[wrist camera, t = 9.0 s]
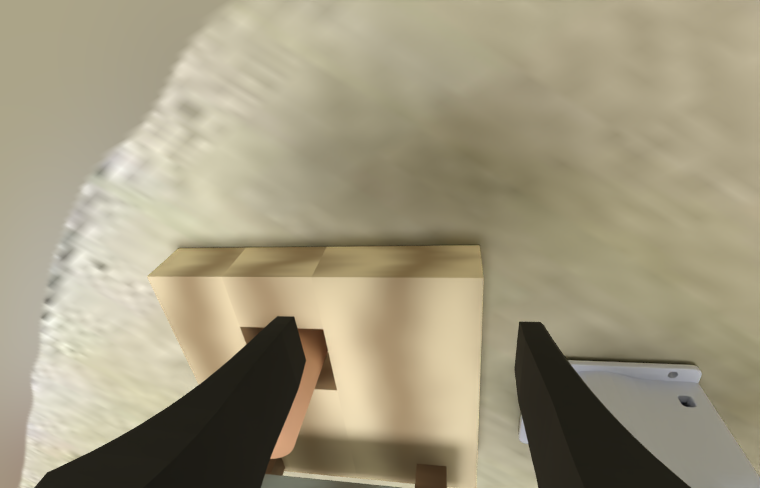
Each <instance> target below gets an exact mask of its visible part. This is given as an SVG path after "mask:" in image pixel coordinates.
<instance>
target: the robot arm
mask: <svg viewBox="0 0 760 488" xmlns="http://www.w3.org/2000/svg"><path fill="white" fill-rule="evenodd" d="M305 363H306V358H305V354H304V351H303V347H302V343H301V339H300V336H299V332H298V328H297V325H296V321H295V317H294V316H277V317H276V318H275V319H273V320H272V321H271V322H270V323H269V324H268V325H267V326H266V327H265V328H264V329H263V330H261V331H260V332H259V333H258V334H257V335H256V336H255V337H254V338H253V339H252V340H251V341H250V342H249V343H247V344H246V345H245V346H244V347H243V348H242V349H241V350H240V351H239V352H238V353H236V354H235V355H234V356H233V357H232V358H231V359H230V360H229V361H227V362H226V363H225V364H224V365H223V366H221V367H220V368H219V369H218V370H217V371H215V372H214V373H213V374H212V375H211V376H209V377H208V378H207V379H206V380H205V381H203V382H202V383H201V384H199V385H198V386H197V387H195V388H194V389H193V390H191V391H190V392H189V393H187V394H186V395H185V396H183V397H182V398H180V399H179V400H178V401H176V402H175V403H173V404H172V405H170V406H169V407H167V408H166V409H164V410H163V411H161V412H159V413H158V414H156V415H155V416H153V417H152V418H150V419H148V420H147V421H145V422H144V423H142V424H140V425H139V426H137V427H136V428H134V429H132V430H130V431H129V432H127V433H125V434H123V435H122V436H120V437H118V438H116V439H114V440H112V441H111V442H109V443H107V444H105V445H103V446H101V447H99V448H97V449H95V450H94V451H92V452H90V453H88V454H85V455H83V456H81V457H79V458H77V459H75V460H73V461H71V462H69V463H67V464H65V465H63V466H60V467H58V468H56V469H54V470H52V471H50V472H47V474H46V475H45V476H44V477H43V478H42V479H41V480H40V482H39V483H38V484H37V485H36V486H35V487H34V488H261V486H262V482H263V479H264V476H265V473H266V469H267V466H268V463H269V461H270V458H271V455H272V453H273V450H274V448H275V445H276V443H277V440H278V438H279V436H280V433H281V431H282V428H283V426H284V424H285V421H286V419H287V416H288V414H289V412H290V409H291V407H292V404H293V402H294V399H295V397H296V394H297V392H298V389H299V386H300V382H301V379H302V375H303V371H304V367H305ZM670 372H671V373H670ZM701 376H702V372H701V371H700V369H699V368H698V367H697V366H695V365H681V364H655V363H629V362H603V361H578V360H567V359H566V358H565V356H564V355H563V353H562V352H561V351H560V349H559V348H558V346H557V345H556V343H555V342H554V340H553V339H552V337H551V336H550V334H549V333H548V331H547V330H546V328H545V326H544V325H543V324H542V323H541V322H519V329H518V339H517V350H516V360H515V377H516V386H517V394H518V402H519V406H520V410H521V416H520V424H519V433H518V435H519V440H520V441H521V442H522V443H526V444H529V448H530V452H531V457H532V461H533V465H534V469H535V473H536V478H537V483H538V488H760V477H759V475H758V473H757V472H756V470H755V469H754V467H753V466H752V464H751V463H750V461H749V460H748V458H747V457H746V455H745V454H744V452H743V450H742V449H741V447H740V446H739V444H738V443H737V441H736V440H735V438H734V437H733V435H732V434H731V432H730V431H729V429H728V427H727V426H726V424H725V423H724V421H723V420H722V418H721V417H720V415H719V414H718V412H717V411H716V409H715V408H714V406H713V405H712V403H711V401H710V400H709V398H708V397H707V395H706V394H705V392H704V391H703V389H702V388H701V386H700V385H699V381H700V378H701Z"/></svg>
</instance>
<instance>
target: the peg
mask: <svg viewBox="0 0 760 488" xmlns="http://www.w3.org/2000/svg"><path fill="white" fill-rule="evenodd" d="M298 332H299V336H300V339H301V343H302V347H303V351H304V354H305V358H306V363H305V367H304V371H303V375H302V379H301V382H300V386H299V389H298V392H297V394H296V397H295V399H294V402H293V404H292V407H291V409H290V412H289V414H288V416H287V419H286V421H285V424H284V426H283V428H282V431H281V433H280V436H279V438H278V440H277V443H276V445H275V448H274V450H273V453H272V455H271V458H270V459H276V458H281V457H284V456H286V455H288V454H289V453H290V452H291V451H292V450H293V448H294V446H295V443H296V440H297V437H298V434H299V431H300V429H301V426H302V423H303V420H304V417H305V414H306V412H307V409H308V406H309V403H310V400H311V397H312V395H313V392H314V389H315V386H316V383H317V380H318V378H319V375H320V372H321V369H322V366H323V363H324V361H325V358H326V355H327V352H328V348H327V344H326V339H325V335H324V331H323V329H301V328H298Z"/></svg>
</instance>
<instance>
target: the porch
mask: <svg viewBox="0 0 760 488" xmlns="http://www.w3.org/2000/svg"><path fill="white" fill-rule="evenodd" d="M147 277H148V280H149V282H150V284H151V286H152V288H153V290H154V292H155V294H156V296H157V298H158V300H159V303H160V305H161V307H162V309H163V311H164V313H165V315H166V317H167V319H168V321H169V323H170V325H171V328H172V330H173V332H174V334H175V336H176V338H177V340H178V342H179V344H180V346H181V348H182V351H183V353H184V355H185V357H186V359H187V361H188V363H189V365H190V367H191V369H192V371H193V374H194V376H195V378H196V380H197V382H198V384H201V383H202V382H203V381H205V380H206V379H207V378H208V377H209V376H211V375H212V374H213V373H214V372H215V371H217V370H218V369H219V368H220V367H221V366H223V365H224V364H225V363H226V362H227V361H229V360H230V359H231V358H232V357H233V356H234V355H235V354H236V353H238V352H239V351H240V350H241V349H242V348H243V347H244V346H245V345H246V344H247V343H249V342H250V341H251V340H252V339H253V338H254V337H255V336H256V335H257V334H258V333H259V332H260V331H261V330H263V329H264V328H265V327H266V326H267V325H268V324H269V323H270V322H271V321H272V320H273V319H275V318H276V317H277V316H294V317H295V321H296V325H297V328H301V329H323V331H324V335H325V339H326V344H327V348H328V352H329V353H327V355H326V358H325V361H324V363H323V366H322V369H321V372H320V375H319V378H318V380H317V383H316V386H315V389H314V392H313V395H312V397H311V400H310V403H309V406H308V409H307V412H306V414H305V417H304V420H303V423H302V426H301V429H300V431H299V434H298V437H297V440H296V443H295V446H294V448H293V450H292V451H291V452H290V453H289V454H288V455H286V456H284V457H281V458H276V459H270V461H269V463H268V466H267V469H266V473H265V476H264V479H263V482H262V486H261V488H400V487H390V486H380V485H370V484H360V483H350V482H340V481H330V480H320V479H310V478H300V477H290V476H282V475H283V472H284V471H288V472H299V473H309V474H319V475H330V476H340V477H350V478H360V479H371V480H381V481H391V482H402V483H412V484H415V488H447V487H453V488H476V484H477V455H478V426H479V397H480V368H481V339H482V310H483V282H484V277H483V269H482V260H481V252H480V245H452V246H353V247H254V248H178V249H177V250H176V251H175V252H174V253H173V254H172V255H170V256H169V257H168V258H167V259H166V260H165V261H164V262H163V263H162V264H160V265H159V266H158V267H157V268H156V269H155V270H154V271H153V272H152V273H150V274H149V275H148V276H147Z"/></svg>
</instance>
